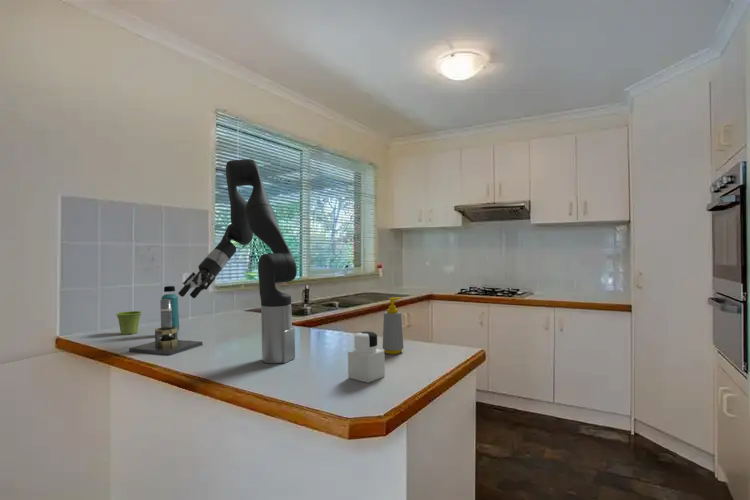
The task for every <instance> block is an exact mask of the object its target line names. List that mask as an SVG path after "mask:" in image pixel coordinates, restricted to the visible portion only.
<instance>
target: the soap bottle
mask: <svg viewBox="0 0 750 500" xmlns="http://www.w3.org/2000/svg"><path fill="white" fill-rule="evenodd" d="M387 299H389V303H390V305H388V309H387V310H386V311H384V312H383V324H382V327H383V329H382V350H384V354H389V355H398V354H401V353H402V351H403V349H404V333H403V318H402V317H403V316H402V312H400V311H399V310H398V308H397V306H396V305H395V302H396V301H397V300H401V299H403V297H402V296H399V297H387Z"/></svg>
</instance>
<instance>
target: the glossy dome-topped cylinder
mask: <svg viewBox="0 0 750 500" xmlns="http://www.w3.org/2000/svg"><path fill="white" fill-rule="evenodd" d="M159 302H160V308H159V309H160V310H159V311H160V328H161V330H170V329H172V299H163V300H162V299H160V300H159ZM160 338H161V341H168V340H173V334H165V335H161V336H160Z"/></svg>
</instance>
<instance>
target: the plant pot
mask: <svg viewBox="0 0 750 500" xmlns="http://www.w3.org/2000/svg"><path fill="white" fill-rule="evenodd" d="M142 313H143V312H142V311H139V310H131V311H122V312H117V313H116V314H115V316H117V320H118V325H119V330H120V331H119V332H120V334H121V335H122V336H123V335H125V336H127V335H130V334H131V335H135V334H137V333H138V331H139V323H140V318H141V316H142V315H141V314H142Z"/></svg>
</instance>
